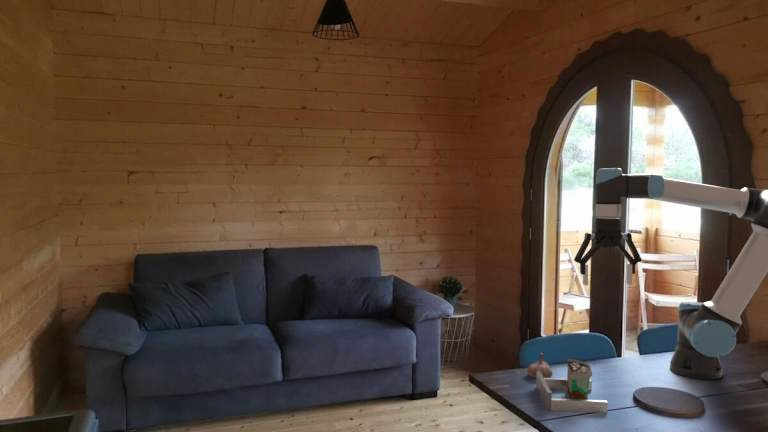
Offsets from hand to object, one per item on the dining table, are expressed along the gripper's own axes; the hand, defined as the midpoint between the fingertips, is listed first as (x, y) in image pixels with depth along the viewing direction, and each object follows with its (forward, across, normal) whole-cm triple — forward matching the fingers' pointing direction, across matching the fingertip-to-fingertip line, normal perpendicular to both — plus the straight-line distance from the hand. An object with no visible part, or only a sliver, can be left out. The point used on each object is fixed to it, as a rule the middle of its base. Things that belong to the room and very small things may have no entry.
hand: (607, 284), depth 188 cm
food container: (+30, +14, +20) cm, 38 cm away
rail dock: (+30, +16, +19) cm, 39 cm away
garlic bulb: (+30, +21, +1) cm, 37 cm away
